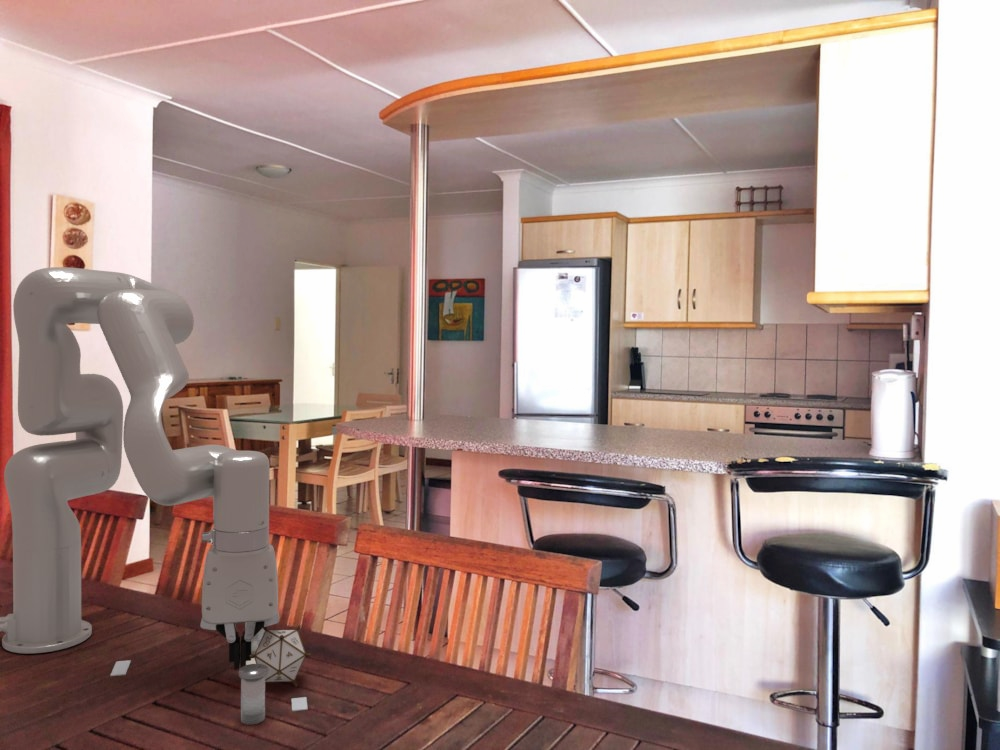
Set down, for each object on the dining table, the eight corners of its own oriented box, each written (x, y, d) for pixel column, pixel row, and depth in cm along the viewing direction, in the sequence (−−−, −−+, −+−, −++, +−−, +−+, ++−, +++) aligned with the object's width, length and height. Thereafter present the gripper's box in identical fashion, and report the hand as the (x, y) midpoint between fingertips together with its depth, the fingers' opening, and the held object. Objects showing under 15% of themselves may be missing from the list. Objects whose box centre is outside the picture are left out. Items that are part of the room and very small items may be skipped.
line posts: (237, 727, 103) (238, 676, 103) (243, 649, 128) (243, 608, 127) (267, 723, 104) (267, 673, 104) (266, 647, 129) (267, 607, 128)
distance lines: (85, 732, 101) (85, 731, 101) (116, 662, 122) (116, 661, 122) (307, 709, 108) (307, 708, 108) (300, 647, 129) (300, 646, 129)
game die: (281, 714, 114) (286, 674, 108) (233, 683, 116) (235, 642, 110) (320, 667, 121) (326, 627, 115) (274, 638, 123) (278, 598, 117)
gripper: (181, 548, 108) (181, 682, 109) (296, 543, 113) (294, 672, 114) (187, 534, 116) (186, 660, 117) (295, 530, 120) (293, 651, 121)
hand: (240, 665), depth 115 cm, fingers closed
